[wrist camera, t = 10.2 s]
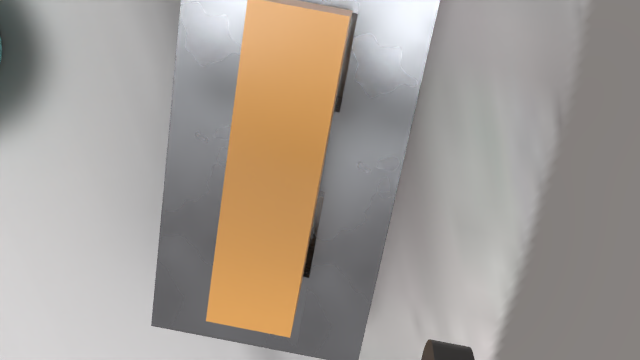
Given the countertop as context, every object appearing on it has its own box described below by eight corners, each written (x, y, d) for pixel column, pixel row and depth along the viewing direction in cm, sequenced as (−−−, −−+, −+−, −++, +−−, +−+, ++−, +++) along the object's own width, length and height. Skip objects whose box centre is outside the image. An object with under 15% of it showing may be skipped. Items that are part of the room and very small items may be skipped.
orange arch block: (281, -10, 24) (247, -3, 18) (355, 4, 24) (349, 16, 18) (244, 238, 28) (205, 321, 21) (309, 250, 28) (290, 337, 21)
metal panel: (221, -117, 24) (192, -134, 20) (445, -77, 24) (459, -86, 20) (178, 281, 30) (151, 325, 26) (358, 315, 30) (356, 365, 26)
